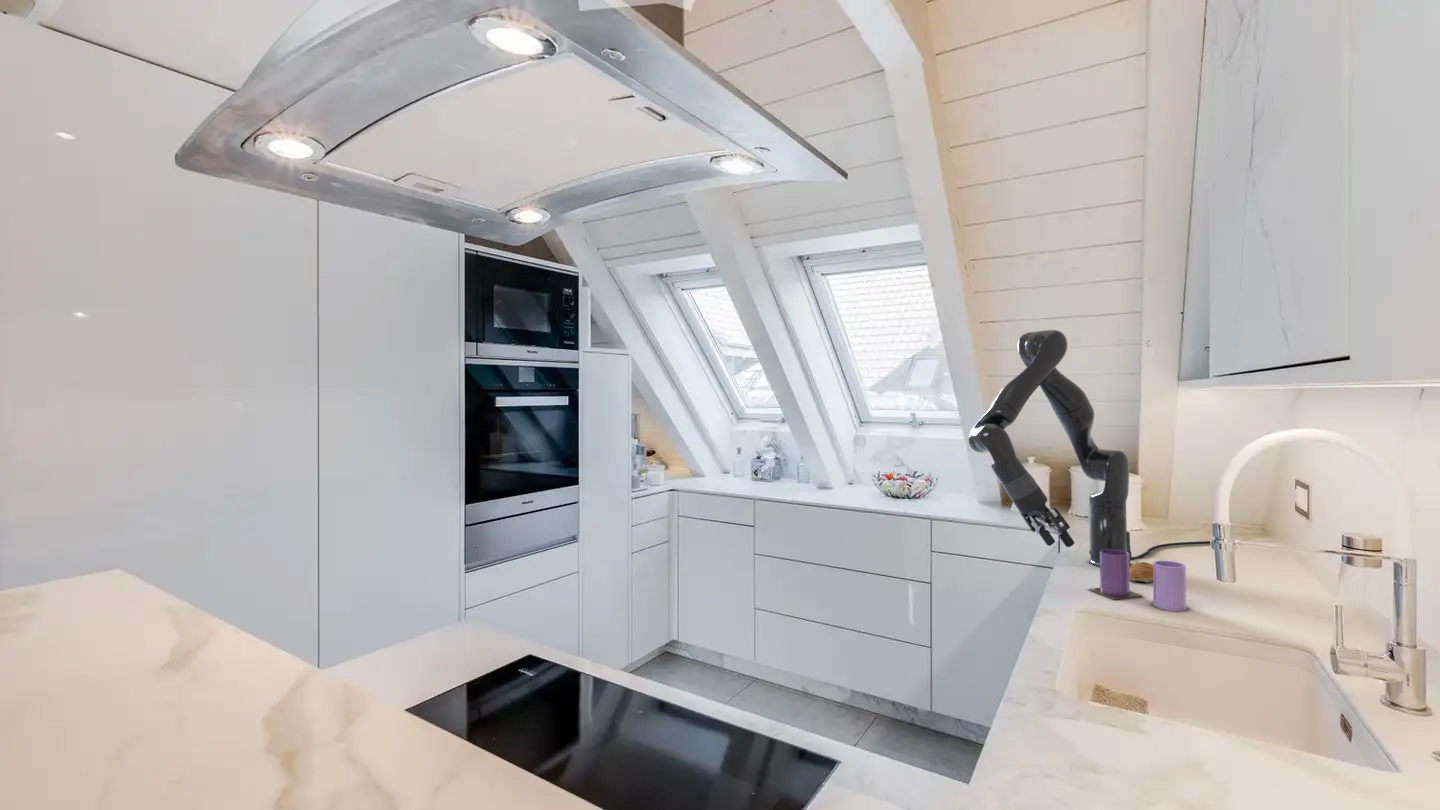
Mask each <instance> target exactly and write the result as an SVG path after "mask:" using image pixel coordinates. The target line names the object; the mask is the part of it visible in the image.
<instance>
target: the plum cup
mask: <svg viewBox="0 0 1440 810" xmlns="http://www.w3.org/2000/svg"><path fill="white" fill-rule="evenodd" d="M1129 568H1130V565H1129V553H1128V552H1126V551H1122V550H1115V549H1103V550H1100V566H1099V586H1100V587H1099V588H1100V589H1101V592H1103V593H1105V594H1109V595H1115V596H1127V595H1129V594H1130V591H1131V589H1130V588H1131V587H1130V585H1131V584H1130V581H1131V580H1130V578H1129Z"/></svg>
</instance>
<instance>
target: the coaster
mask: <svg viewBox="0 0 1440 810" xmlns="http://www.w3.org/2000/svg"><path fill="white" fill-rule="evenodd" d="M1089 591H1090V592H1093V593H1096V594H1097V595H1101V596H1103V597H1105V598H1108V599H1112V600H1113V601H1116V600H1126V599H1137V598H1143V594H1141V593H1137V592H1134V591H1131V590H1130V594H1129V595H1127V596H1115V595H1109V594H1105V593H1103V592H1101V589H1100V587H1095V588H1094V587H1093V588H1089Z"/></svg>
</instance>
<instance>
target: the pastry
mask: <svg viewBox="0 0 1440 810" xmlns="http://www.w3.org/2000/svg"><path fill="white" fill-rule="evenodd" d="M1129 578H1130V581H1132V582H1133V581H1134V582H1135V581H1137V582H1144V583H1148V584H1149V583H1153V564H1151V563H1149V562H1145V561H1142V562H1135V564H1133V565H1131V566H1129Z"/></svg>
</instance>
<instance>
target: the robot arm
mask: <svg viewBox="0 0 1440 810" xmlns="http://www.w3.org/2000/svg"><path fill="white" fill-rule="evenodd" d="M1017 341H1018V342H1017V351H1018V354H1019V357H1020V359H1021V361H1022V362H1023V364H1024V365H1025V369H1023V371H1021V372H1020V373H1019V374H1018V375H1016V376H1015V377H1014V378H1013V379H1012V380H1010V381H1009V382H1007V383H1006V384H1005V385H1004V386H1003V387H1002V389H1000V391H999V392H998V393H997V395H996V397H995V398H994V400H993V401H992V403H991V405H990V407H989V409H988V410H987V411H986V412H985V413H984V414H983V415H982V416H981V418H980V419H979V420H978V421H977V422H976V423H975V424H974V426H973V427H972V429H971V430H970V432H969V435H968V445H969V447H970V449H972V450H973V451H974V452H976V453H979V454H985V453H989V454H990V455H991V459H992V460H993V461H992V463H991V465H990V468H991V470H992V471H993V473H994V475H995V477H996V478H997V479H998V481H999V482H1000V483H1001V485H1002V487H1003V489H1004V491H1005V493H1006V494H1007V495H1008V497H1009V498H1010V500H1011V501H1012V502H1013V503H1014V505H1015V507H1016V509H1017V511H1018V512H1019V513H1020V516H1021V517H1022V519H1023V520H1024V521H1025V523H1026V525H1027V526H1028V527H1029V529H1030V530H1031V532H1033V533H1036V534H1037V535H1039V536H1040V537H1041V539H1042V540H1043V541H1044V543H1045V544H1046V546H1048V547H1051V546H1052V545H1054V544H1055V543H1056V540H1055V539H1054V537H1053V536H1052V534H1051V533H1050V531H1053V532H1054V533H1055V534H1057V537H1058V538H1059V539H1060V540H1061V542H1062V543H1063V545H1064V546H1065V547H1066V548H1071V547H1072V546H1074V545H1075V541H1074V539H1073V538H1072V537H1071V535H1070V533H1069V532H1068V531H1067V530H1069V529H1070V528H1071V526H1070V525H1069V524H1068V522H1067V520H1065V518H1064V517H1063V515H1062V514H1061V512H1060V510H1058V508H1056V507H1053V508H1052V509H1050V508H1049V507H1047V505H1046V504H1047V502H1048V497H1047V495H1046V494H1045V493H1044V491H1043V490H1042V489H1041V486H1040V485H1039V484H1038V483H1037V481H1036V480H1035V478H1034V477H1033V476H1032V475H1031V473H1030V472H1028V470H1027V469H1026V468H1025V465H1023V462H1022V461H1021V459H1020V458H1019V457H1018V456H1017V453H1016V451H1015V448H1014V444H1013V443H1012V440H1011V438H1010V435H1009V434H1008V433H1007V431H1006V430H1005V429H1006V428H1007V427H1009V426H1011V425H1012V424H1013V423H1015V421H1016V420H1017V418H1018V416H1019V414H1020V413H1021V411H1022V410H1023V408H1024V406H1025V405H1026V403H1027V402H1028V400H1029V399H1030V397H1031V396H1032V395H1033V394H1034V392H1035V391H1036V390H1037V389H1038V388H1039V387H1040V389H1041V390H1042V392H1043V394H1044V395H1045V397H1046V399H1047V400H1048V403H1049V404H1050V406H1051V408H1052V410H1053V412H1054V414H1055V416H1056V418H1057V420H1058V421H1059V424H1061V427H1062V428H1063V430H1064V432H1065V434H1066V435H1067V438H1068V439H1069V442H1070V444H1071V446H1072V448H1073V451H1074V453H1075V455H1076V458H1077V460H1078V461H1077V462H1078V463H1079V465H1080V469H1081V470H1082V472H1083V473H1084V475H1085V476H1086V477H1087V478H1088V479H1090V480H1093V481H1099V482H1104V486H1103V487H1104V488H1103V489H1102V490H1100V491H1097V492H1093V493H1090V494H1089V497H1088V502H1089V503H1088V507H1089V509H1088V510H1089V511H1088V512H1089V513H1088V514H1089V551H1088V553H1089V563H1090V564H1092V565H1095V566H1099V567H1100V550H1103V549H1115V550H1122V551H1126V552H1128V553H1129V566H1130V565H1131V560H1137V559H1138V560H1139V559H1142V558H1144V557H1146V556H1148V555H1149V554H1150V553H1151V552H1152V551H1154V550H1157V549H1161V548H1166V547H1174V546H1188V545H1189V546H1191V545H1209V544H1210V541H1211V540H1201V541H1181V542H1170V543H1163V544H1158V545H1154V546H1152V547H1150V548H1148V549H1147V551H1145V552H1144V553H1143V552H1142V553H1141V554H1139V555H1137V556H1132V551H1131V533H1130V532H1129V531H1128V530H1127V529H1128V527H1127V526H1128V525H1127V524H1128V523H1127V521H1128V520H1127V500H1128V497H1129V492H1130V491H1129V490H1130V461H1129V458H1128V455H1127V454H1126V452H1123V450H1118V449H1105V448H1104V449H1103V448H1099V447H1098V445H1097V444H1096V442H1095V441H1094V438H1093V436H1092V430H1093V427H1094V421H1095V416H1096V415H1095V410H1094V408H1093V406H1092V404H1091V401H1090V399H1089V398H1088V396H1087V394H1086V393H1085V392H1084V390H1083V389H1082V387H1080V386H1079V385H1078V384H1076V383H1075V382H1074V381H1072V380H1071V379H1070V378H1068V377H1067V376H1066V375H1065V374H1063V373H1062V372H1061V371H1060V370H1059V369H1058V368H1057V366H1058V365H1059V364H1060V363H1061V361H1063V359H1064V357H1065V356H1066V353H1067V351H1068V340H1067V337H1066V335H1065V334H1064V333H1063V332H1062V331H1060V330H1057V329H1043V330H1034V331H1029V332H1025V333H1023V334H1022V335H1020V337H1019V339H1018V340H1017ZM1210 545H1211V544H1210Z"/></svg>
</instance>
